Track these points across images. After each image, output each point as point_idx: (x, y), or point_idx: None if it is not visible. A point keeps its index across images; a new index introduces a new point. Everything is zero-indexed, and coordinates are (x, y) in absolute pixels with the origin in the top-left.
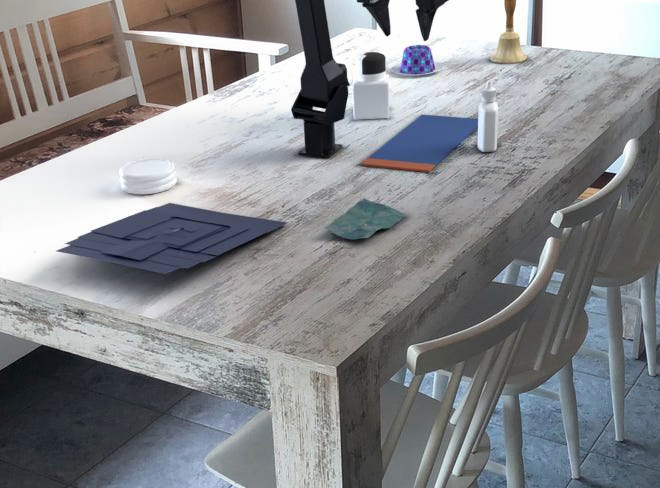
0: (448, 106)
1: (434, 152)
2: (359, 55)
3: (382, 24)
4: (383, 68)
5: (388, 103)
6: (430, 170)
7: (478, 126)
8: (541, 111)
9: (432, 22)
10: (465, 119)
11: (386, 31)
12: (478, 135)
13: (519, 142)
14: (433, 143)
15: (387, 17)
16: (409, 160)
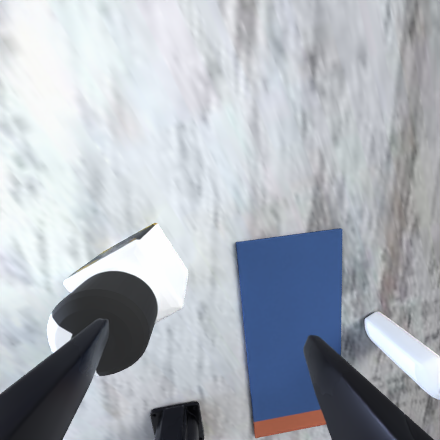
0: (253, 172)
1: None
2: None
3: (65, 432)
4: (155, 313)
5: (186, 283)
6: None
7: (394, 360)
8: (412, 145)
9: (401, 412)
10: (314, 241)
11: (97, 363)
12: (383, 351)
13: (410, 292)
14: None
15: (37, 423)
16: (306, 408)
